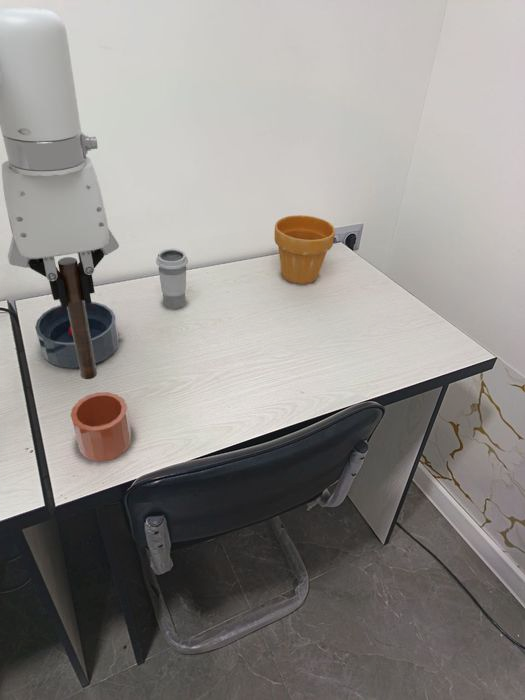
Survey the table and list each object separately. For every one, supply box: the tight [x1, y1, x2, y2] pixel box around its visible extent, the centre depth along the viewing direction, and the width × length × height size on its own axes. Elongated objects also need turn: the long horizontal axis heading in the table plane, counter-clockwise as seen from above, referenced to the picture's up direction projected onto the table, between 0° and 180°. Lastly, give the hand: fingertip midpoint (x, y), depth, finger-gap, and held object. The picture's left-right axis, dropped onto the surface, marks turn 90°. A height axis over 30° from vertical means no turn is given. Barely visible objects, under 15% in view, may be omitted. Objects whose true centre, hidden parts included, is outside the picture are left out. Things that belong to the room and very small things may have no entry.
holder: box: [70, 391, 132, 462], centre depth 76 cm, size 8×8×7 cm
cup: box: [155, 248, 189, 310], centre depth 107 cm, size 7×7×12 cm
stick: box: [57, 256, 98, 380], centre depth 65 cm, size 2×2×18 cm
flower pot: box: [273, 214, 336, 285], centre depth 120 cm, size 14×14×13 cm
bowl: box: [34, 301, 120, 369], centre depth 95 cm, size 14×14×6 cm
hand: (74, 299), depth 63 cm, fingers closed on stick, 2 cm apart
